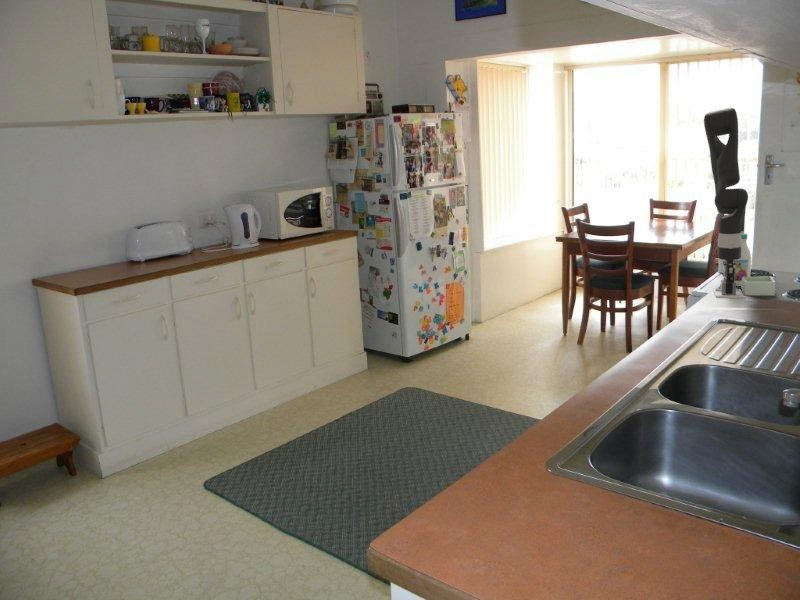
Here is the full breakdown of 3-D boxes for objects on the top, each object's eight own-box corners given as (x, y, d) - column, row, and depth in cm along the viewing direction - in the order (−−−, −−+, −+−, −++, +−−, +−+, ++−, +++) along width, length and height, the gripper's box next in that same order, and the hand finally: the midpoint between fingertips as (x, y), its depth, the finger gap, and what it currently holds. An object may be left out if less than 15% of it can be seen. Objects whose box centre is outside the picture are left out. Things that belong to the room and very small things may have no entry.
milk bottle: (733, 283, 269) (734, 232, 264) (753, 285, 263) (755, 233, 258) (723, 287, 264) (725, 234, 259) (744, 289, 258) (746, 236, 253)
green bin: (741, 290, 256) (741, 276, 255) (770, 290, 253) (771, 276, 252) (744, 296, 247) (745, 282, 246) (774, 296, 244) (775, 282, 243)
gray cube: (720, 292, 254) (720, 280, 252) (734, 292, 252) (734, 280, 251) (721, 295, 249) (722, 283, 248) (735, 295, 248) (736, 283, 247)
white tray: (713, 292, 257) (713, 288, 257) (739, 292, 254) (740, 288, 254) (715, 298, 247) (715, 295, 247) (743, 299, 244) (743, 295, 244)
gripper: (716, 242, 254) (715, 287, 258) (719, 248, 241) (718, 296, 245) (738, 241, 252) (737, 287, 256) (743, 248, 239) (742, 296, 243)
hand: (728, 291), depth 250 cm, fingers closed on gray cube, 4 cm apart
